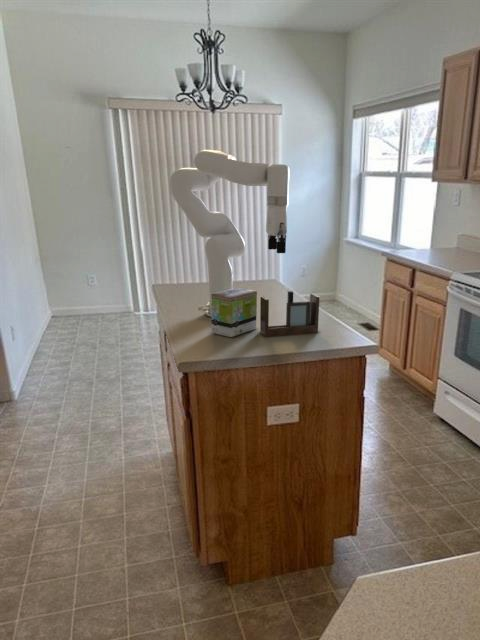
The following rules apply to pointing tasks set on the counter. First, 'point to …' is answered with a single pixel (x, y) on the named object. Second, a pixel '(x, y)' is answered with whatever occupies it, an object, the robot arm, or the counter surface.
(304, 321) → the sliding pane
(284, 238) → the robot arm
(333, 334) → the counter surface
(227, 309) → the tea box
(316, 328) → the window frame
